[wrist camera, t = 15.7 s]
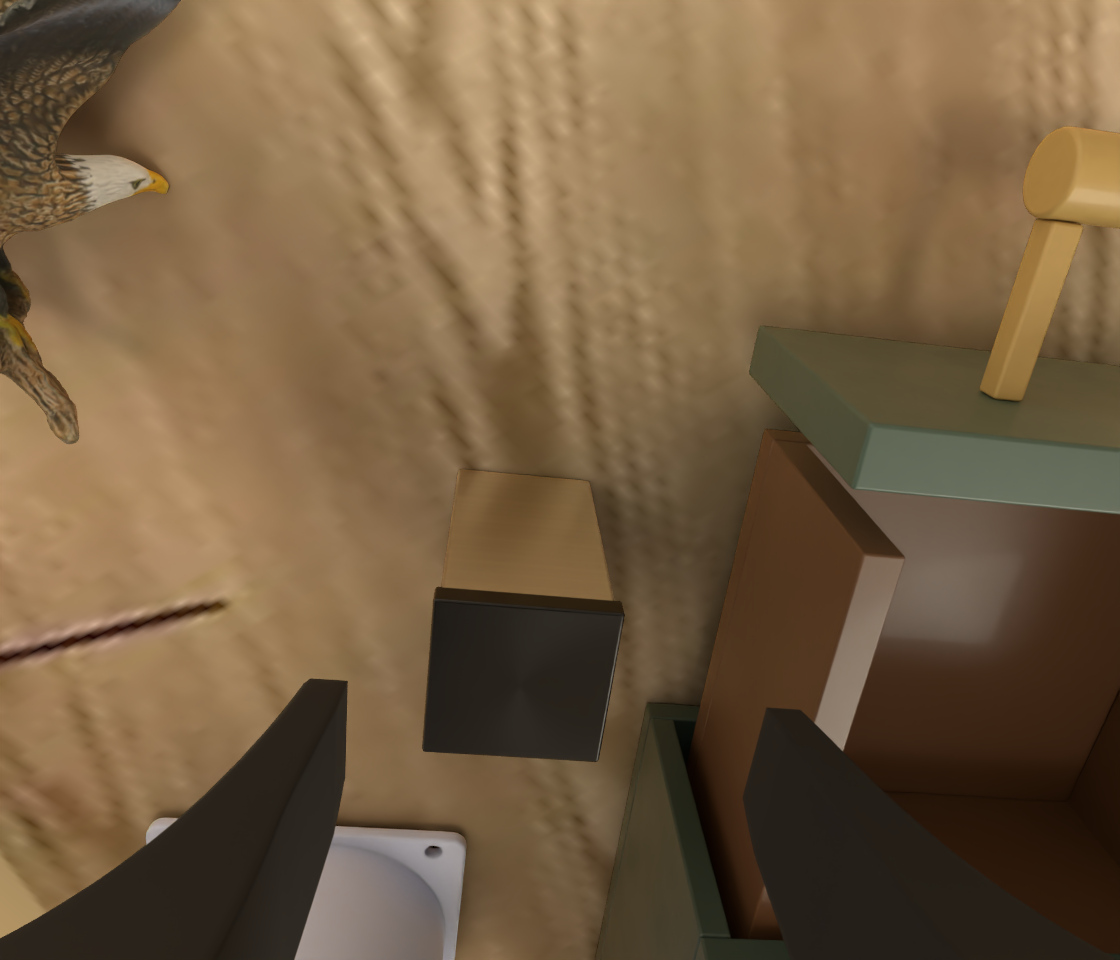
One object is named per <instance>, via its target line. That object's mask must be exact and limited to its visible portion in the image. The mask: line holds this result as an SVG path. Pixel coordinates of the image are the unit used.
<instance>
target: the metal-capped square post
mask: <svg viewBox="0 0 1120 960" xmlns="http://www.w3.org/2000/svg"><path fill="white" fill-rule="evenodd" d="M624 616H625V614H624V610H623V605H622V602H620V601H614V597H613V592H612V587H611V582H610V578H609V573H608V568H607V563H606V559H605V554H604V549H603V544H602V539H601V535H600V530H599V525H598V520H597V516H596V511H595V506H594V501H593V496H592V492H591V487H590V483H589V481H584V480H573V479H563V478H552V477H541V476H530V475H519V474H509V473H498V472H487V471H476V470H465V469H460V470H459V471H458V474H457V481H456V488H455V495H454V501H453V508H452V515H451V522H450V529H449V536H448V543H447V550H446V557H445V564H444V571H443V578H442V584H441V587H436V589H435V593H434V599H433V611H432V624H431V638H430V651H429V664H428V678H427V691H426V704H425V717H424V731H423V744H422V749H423V751H425V752H440V753H457V754H473V755H490V756H507V757H523V758H540V759H557V760H573V761H590V762H597V761H598V759H599V755H600V749H601V744H602V738H603V733H604V727H605V722H606V716H607V711H608V705H609V700H610V694H611V688H612V683H613V677H614V672H615V666H616V661H617V655H618V650H619V644H620V639H621V633H622V627H623V622H624Z"/></svg>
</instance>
